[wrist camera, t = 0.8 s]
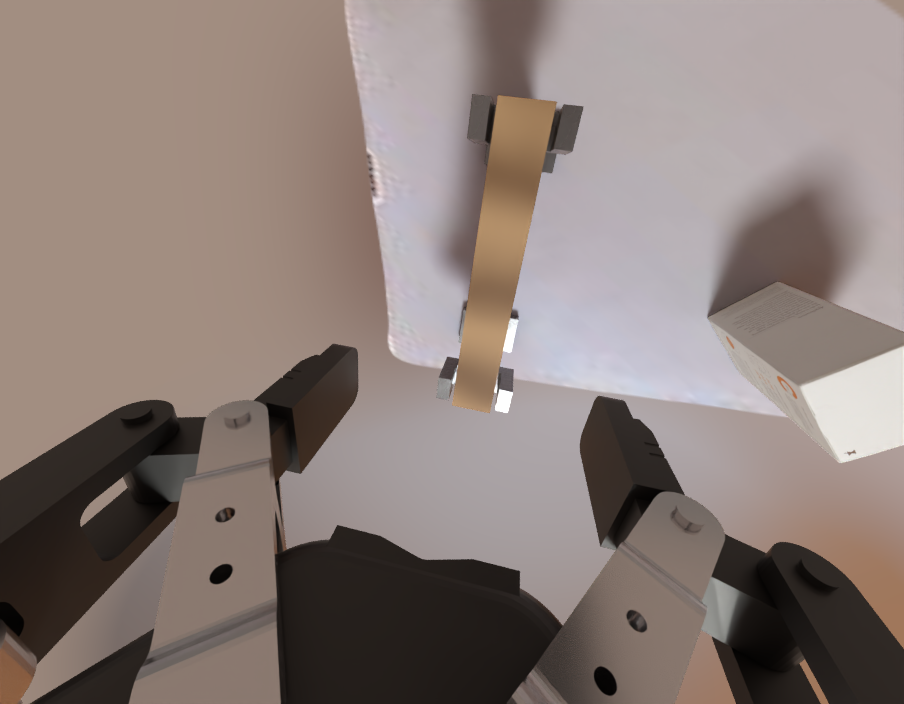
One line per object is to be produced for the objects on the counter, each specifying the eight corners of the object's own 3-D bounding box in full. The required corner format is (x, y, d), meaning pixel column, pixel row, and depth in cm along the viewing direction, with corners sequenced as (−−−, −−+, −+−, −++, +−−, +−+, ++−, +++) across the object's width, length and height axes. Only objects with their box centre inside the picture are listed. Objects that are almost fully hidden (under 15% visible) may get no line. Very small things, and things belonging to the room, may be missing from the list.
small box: (811, 343, 33) (960, 431, 22) (739, 374, 36) (839, 467, 25) (778, 277, 31) (925, 337, 20) (704, 315, 34) (797, 387, 23)
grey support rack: (493, 111, 29) (473, 70, 18) (563, 120, 29) (591, 82, 17) (460, 338, 40) (434, 407, 28) (511, 348, 39) (506, 422, 28)
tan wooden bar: (501, 105, 20) (497, 95, 18) (552, 111, 20) (556, 101, 17) (458, 385, 30) (452, 405, 27) (492, 391, 29) (489, 413, 27)
